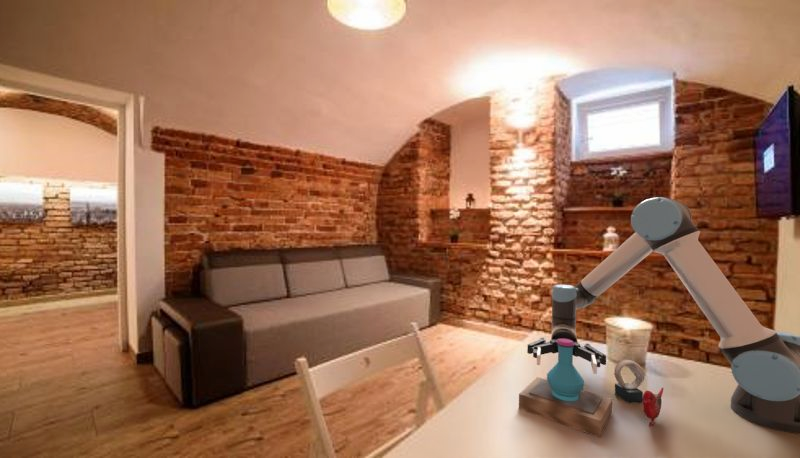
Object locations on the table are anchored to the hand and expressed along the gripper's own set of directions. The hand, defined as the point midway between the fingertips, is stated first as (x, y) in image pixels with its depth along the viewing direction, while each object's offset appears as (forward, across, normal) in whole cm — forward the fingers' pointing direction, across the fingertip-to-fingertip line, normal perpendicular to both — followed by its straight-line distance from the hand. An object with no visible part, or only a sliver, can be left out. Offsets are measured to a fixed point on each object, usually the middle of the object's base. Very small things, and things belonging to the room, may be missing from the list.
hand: (565, 364), depth 93 cm
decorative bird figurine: (-7, -21, -14) cm, 26 cm away
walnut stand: (-3, 0, -14) cm, 14 cm away
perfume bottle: (-3, 0, -10) cm, 10 cm away
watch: (-19, -17, -14) cm, 29 cm away
